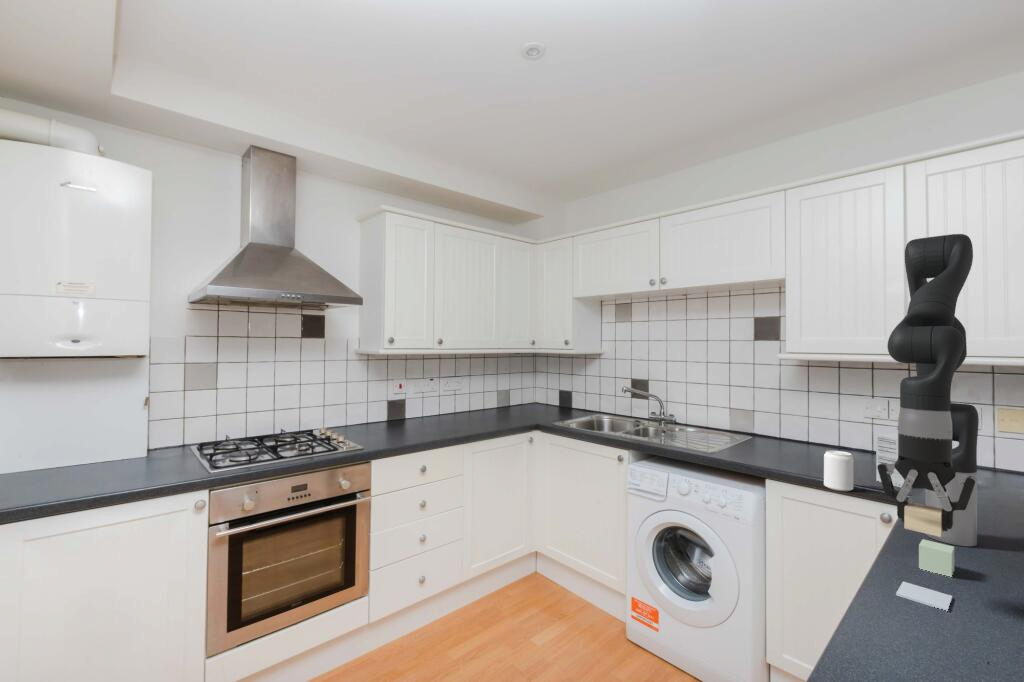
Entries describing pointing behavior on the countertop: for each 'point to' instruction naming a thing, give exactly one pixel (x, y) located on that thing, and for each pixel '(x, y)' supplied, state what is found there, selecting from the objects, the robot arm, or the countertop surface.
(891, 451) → the supplement box
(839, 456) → the beverage can
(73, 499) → the countertop surface
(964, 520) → the robot arm
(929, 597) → the white tile
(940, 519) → the maple block
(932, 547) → the sage block
